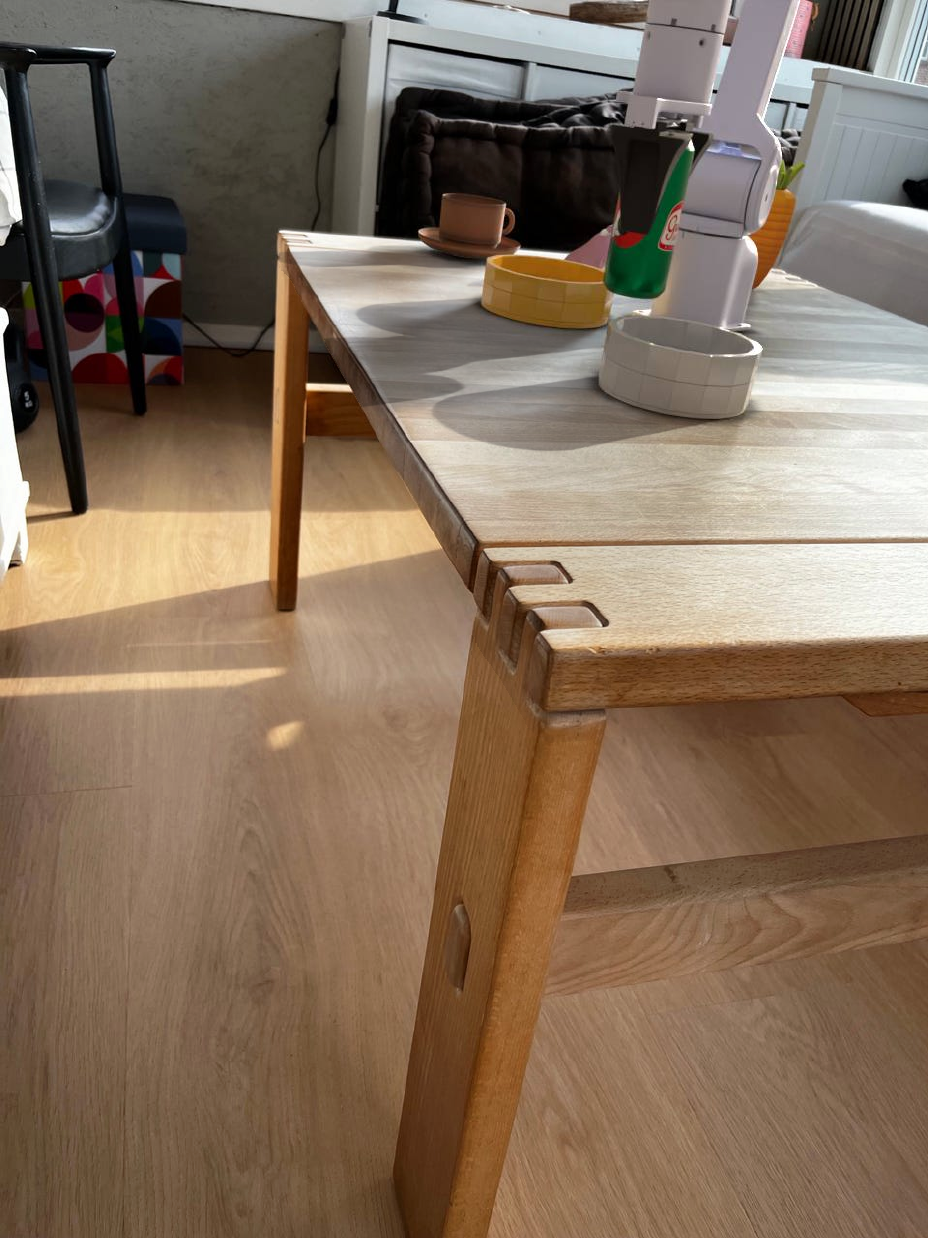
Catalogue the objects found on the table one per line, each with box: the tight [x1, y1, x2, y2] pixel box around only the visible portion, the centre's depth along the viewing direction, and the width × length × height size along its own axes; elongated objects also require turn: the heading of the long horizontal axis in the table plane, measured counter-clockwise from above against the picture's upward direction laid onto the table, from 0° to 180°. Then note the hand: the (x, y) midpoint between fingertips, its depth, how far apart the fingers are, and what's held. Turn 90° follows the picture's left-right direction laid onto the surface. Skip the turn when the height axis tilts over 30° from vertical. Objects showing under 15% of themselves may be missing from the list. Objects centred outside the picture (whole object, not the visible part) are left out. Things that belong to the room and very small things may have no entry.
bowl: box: [480, 253, 615, 329], centre depth 97 cm, size 12×12×4 cm
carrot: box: [747, 159, 806, 291], centre depth 120 cm, size 5×5×15 cm
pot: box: [598, 315, 764, 420], centre depth 77 cm, size 11×11×4 cm
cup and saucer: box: [417, 192, 521, 260], centre depth 119 cm, size 12×12×6 cm
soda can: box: [603, 128, 695, 300], centre depth 79 cm, size 5×5×12 cm
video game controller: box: [563, 224, 613, 270], centre depth 118 cm, size 10×5×7 cm, turn 148°
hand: (645, 229), depth 80 cm, fingers closed on soda can, 5 cm apart
